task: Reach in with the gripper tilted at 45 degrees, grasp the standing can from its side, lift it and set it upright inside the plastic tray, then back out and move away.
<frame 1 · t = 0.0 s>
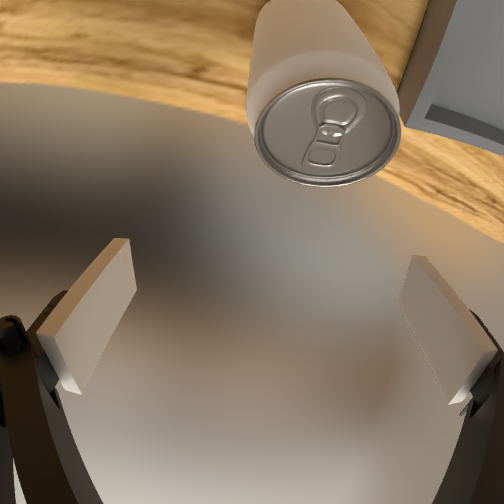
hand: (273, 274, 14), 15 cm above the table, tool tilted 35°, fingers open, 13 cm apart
can: (304, 27, 16), on the table
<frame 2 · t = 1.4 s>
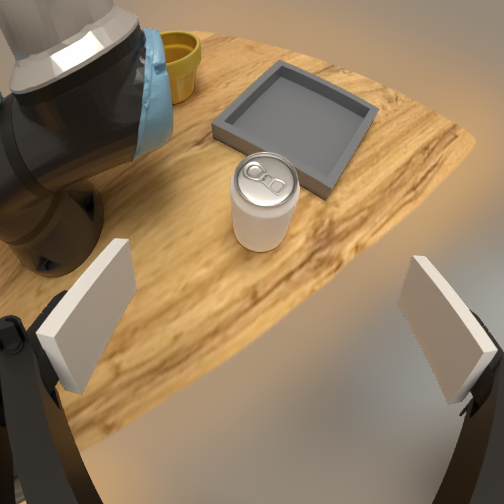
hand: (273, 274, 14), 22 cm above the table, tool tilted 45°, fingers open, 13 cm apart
plant pot: (174, 91, 45), on the table
tray: (299, 126, 43), on the table
can: (259, 228, 38), on the table
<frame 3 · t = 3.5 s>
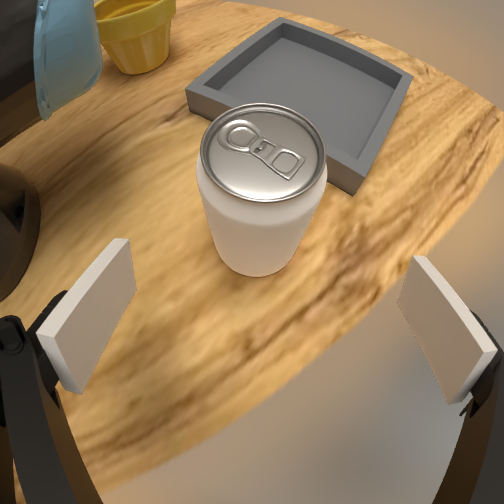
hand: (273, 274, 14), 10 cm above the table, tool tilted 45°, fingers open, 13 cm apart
plant pot: (144, 60, 32), on the table
tray: (309, 95, 29), on the table
can: (255, 239, 25), on the table
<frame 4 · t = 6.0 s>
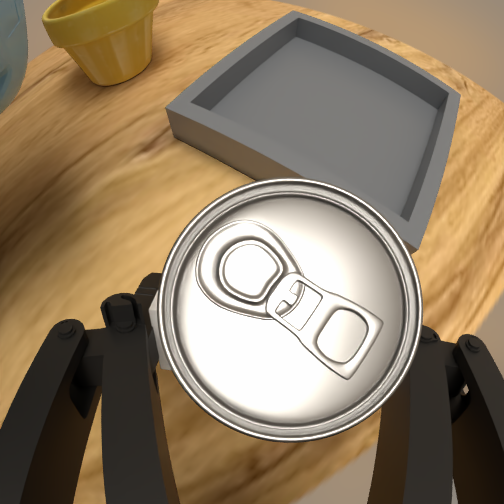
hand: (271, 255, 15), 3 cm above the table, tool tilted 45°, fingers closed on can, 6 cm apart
plant pot: (122, 66, 25), on the table
tray: (334, 115, 22), on the table
can: (264, 332, 17), on the table, touching gripper
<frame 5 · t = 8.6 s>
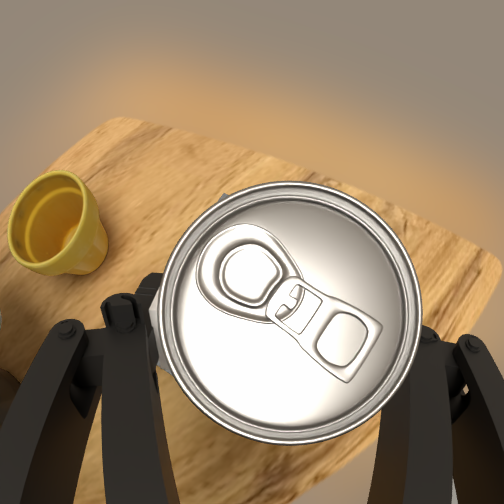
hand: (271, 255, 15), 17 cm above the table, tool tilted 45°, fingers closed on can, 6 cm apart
plant pot: (86, 247, 33), on the table
can: (264, 334, 17), point 14 cm above the table, touching gripper
when the fingers open (6 cm above the table, at t = 11.7 s): can drops 1 cm, resting on tray.
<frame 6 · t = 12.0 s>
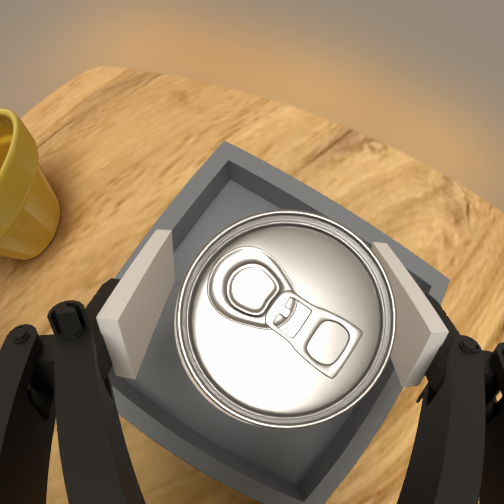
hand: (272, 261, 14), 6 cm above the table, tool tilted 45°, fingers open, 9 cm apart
plant pot: (34, 223, 22), on the table
tray: (262, 333, 19), on the table
can: (262, 335, 19), point 1 cm above the table, touching tray
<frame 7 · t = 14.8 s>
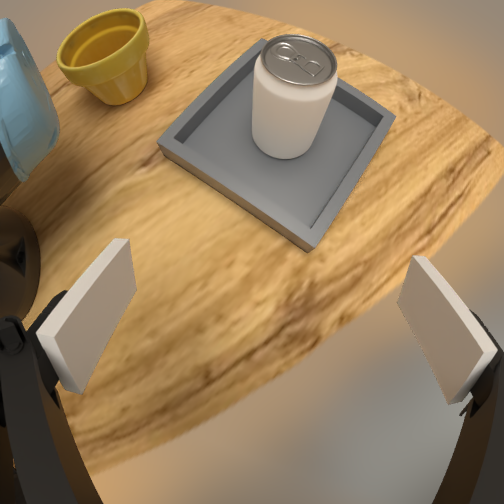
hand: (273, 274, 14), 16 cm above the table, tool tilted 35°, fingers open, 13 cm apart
plant pot: (124, 85, 32), on the table
milk frother: (1, 460, 25), on the table
tray: (282, 136, 31), on the table
can: (282, 134, 31), point 1 cm above the table, touching tray
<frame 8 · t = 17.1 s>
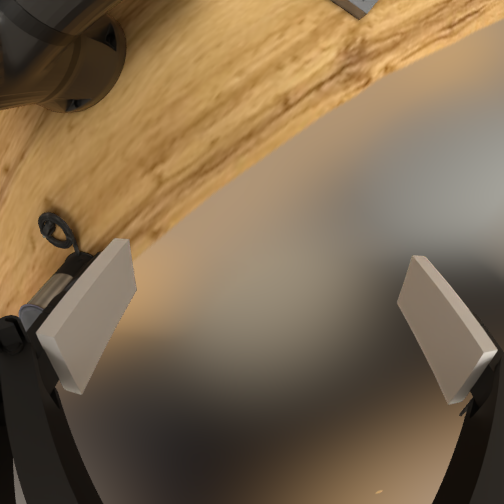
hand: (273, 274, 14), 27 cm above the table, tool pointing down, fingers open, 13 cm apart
milk frother: (75, 254, 44), on the table
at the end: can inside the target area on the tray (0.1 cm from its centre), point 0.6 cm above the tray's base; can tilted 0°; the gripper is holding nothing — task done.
